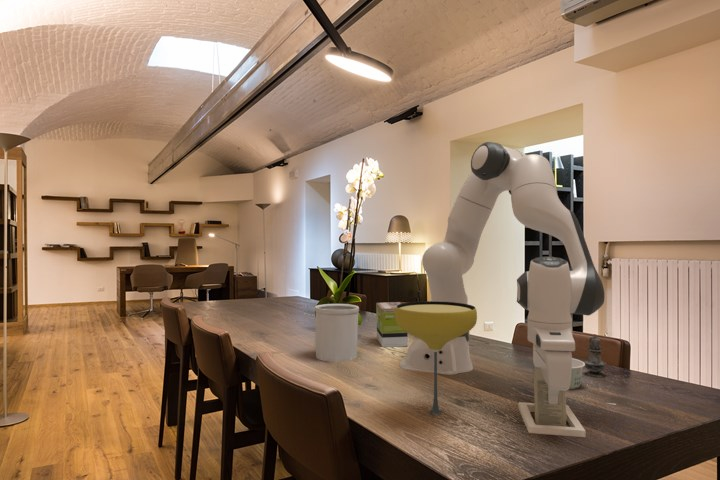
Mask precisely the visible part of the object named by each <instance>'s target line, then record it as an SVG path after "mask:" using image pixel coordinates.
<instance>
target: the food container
mask: <svg viewBox="0 0 720 480" xmlns="http://www.w3.org/2000/svg"><path fill="white" fill-rule="evenodd" d="M584 367H586V366H585V363H584V361H582V360H580V359H577V358H573V357H572V371H571V383H570V387H569V389H568V390H572V389H579V388H580V386H581V380H582V375H583V369H584Z"/></svg>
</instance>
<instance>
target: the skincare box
mask: <svg viewBox="0 0 720 480" xmlns="http://www.w3.org/2000/svg"><path fill="white" fill-rule="evenodd" d="M532 370H533V399H534V400H533V401H534V402H533V403H534V408H535V412H534V422H535V425H549V426H564V427H567V420H566V405H567V404H566V403H567V401H566V400H567V399H566V391H559V394H558V403H557V404H556V405H555V404H549V402H548V400H547V393H548V385H547V384H546V382H545V380H544V379H543V377H542V371H541V370H540V369H539V368H538V367H535V366H534V367H533V369H532Z"/></svg>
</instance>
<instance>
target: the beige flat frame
mask: <svg viewBox="0 0 720 480" xmlns="http://www.w3.org/2000/svg"><path fill="white" fill-rule="evenodd" d="M518 411H519V413H520V416H521V418H522V420H523V422H524V424H525V426H526V429H527V432H528V434H537V435H538V434H539V435H549V436H550V435H551V436H564V437H574V438H576V437H578V438H586V434H587V433H586V428H584V426H583V424H581V422H580V420H579V419H578V418H577V416H576V415H575V413H574V412H573V411H572V409H571V408H570V406H569V405H568V404H566V423H568V425H569V426H566V427H564V426H550V425H542V424H536V423H535V419H534V418H533V416H532V414H531V413H535V408H534V402H522V401H518Z"/></svg>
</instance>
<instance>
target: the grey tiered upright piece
mask: <svg viewBox="0 0 720 480" xmlns="http://www.w3.org/2000/svg"><path fill="white" fill-rule="evenodd" d="M588 342H589V348H587V350H588V359H586V360H584V361H583V362H584V363H585V366H584V367H585V368H586V369H587V370H588V371H585V373H584V375H585V376H589V377H592V378H604V377H606V375H605V374H604V373H603V371H604V370H605V367H606V365H607V363H606V362H604V361H603V360H602V357H601V356H602V354H601V353H602V351H603V350H602V349H601V339H600V338H599V337H597V335H596V333H594V334H593V336H592V337H590V338H589V341H588Z"/></svg>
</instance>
